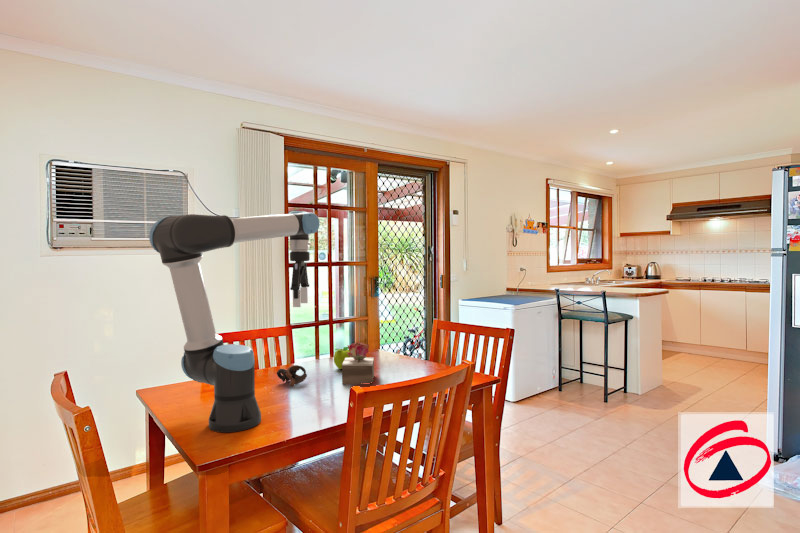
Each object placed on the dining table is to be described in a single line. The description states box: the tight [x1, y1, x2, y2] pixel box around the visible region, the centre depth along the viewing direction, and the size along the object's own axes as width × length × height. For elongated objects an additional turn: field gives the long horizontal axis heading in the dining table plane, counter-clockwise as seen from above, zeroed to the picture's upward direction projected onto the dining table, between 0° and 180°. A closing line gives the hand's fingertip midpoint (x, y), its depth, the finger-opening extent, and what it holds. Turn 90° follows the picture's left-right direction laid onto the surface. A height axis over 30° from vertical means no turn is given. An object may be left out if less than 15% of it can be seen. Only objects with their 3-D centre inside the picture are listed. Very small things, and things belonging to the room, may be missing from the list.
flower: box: [346, 341, 370, 363], centre depth 184 cm, size 10×9×8 cm
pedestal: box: [341, 356, 375, 386], centre depth 185 cm, size 12×12×8 cm
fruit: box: [333, 346, 353, 370], centre depth 203 cm, size 9×9×10 cm
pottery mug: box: [276, 364, 308, 388], centre depth 181 cm, size 12×10×8 cm
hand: (300, 305), depth 178 cm, fingers open, 13 cm apart
